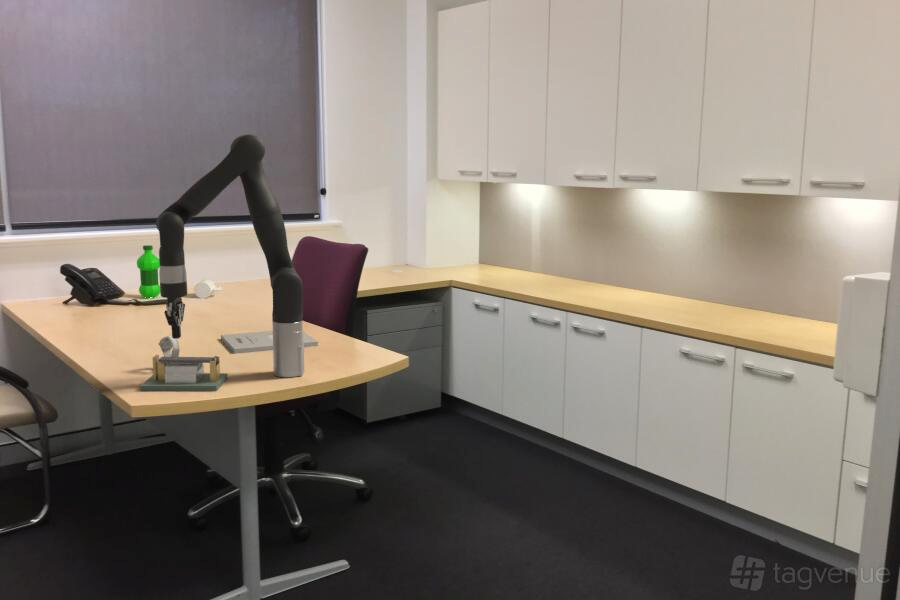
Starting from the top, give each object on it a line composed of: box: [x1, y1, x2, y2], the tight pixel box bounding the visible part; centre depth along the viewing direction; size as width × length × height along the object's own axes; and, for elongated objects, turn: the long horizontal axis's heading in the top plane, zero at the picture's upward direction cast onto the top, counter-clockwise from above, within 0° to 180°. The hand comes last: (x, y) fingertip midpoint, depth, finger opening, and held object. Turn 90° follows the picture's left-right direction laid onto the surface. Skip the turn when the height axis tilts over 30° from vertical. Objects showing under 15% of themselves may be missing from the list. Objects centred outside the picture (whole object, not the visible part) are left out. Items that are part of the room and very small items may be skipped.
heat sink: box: [165, 362, 205, 384], centre depth 241 cm, size 9×9×5 cm
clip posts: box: [151, 354, 221, 382], centre depth 241 cm, size 19×5×7 cm, turn 92°
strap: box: [158, 355, 220, 364], centre depth 241 cm, size 17×4×2 cm, turn 92°
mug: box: [193, 278, 223, 299], centre depth 392 cm, size 12×10×8 cm
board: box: [139, 372, 229, 392], centre depth 242 cm, size 22×14×2 cm, turn 92°
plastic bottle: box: [136, 244, 161, 299], centre depth 385 cm, size 10×10×25 cm
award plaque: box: [220, 330, 319, 355], centre depth 298 cm, size 25×30×2 cm
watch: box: [157, 335, 180, 364], centre depth 258 cm, size 6×8×11 cm
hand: (176, 337), depth 240 cm, fingers closed
